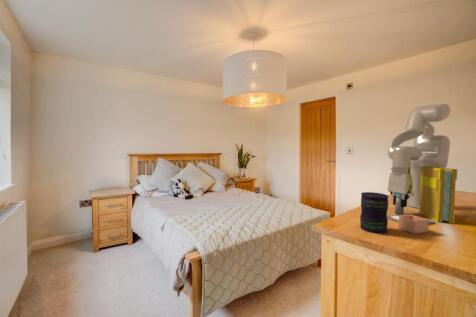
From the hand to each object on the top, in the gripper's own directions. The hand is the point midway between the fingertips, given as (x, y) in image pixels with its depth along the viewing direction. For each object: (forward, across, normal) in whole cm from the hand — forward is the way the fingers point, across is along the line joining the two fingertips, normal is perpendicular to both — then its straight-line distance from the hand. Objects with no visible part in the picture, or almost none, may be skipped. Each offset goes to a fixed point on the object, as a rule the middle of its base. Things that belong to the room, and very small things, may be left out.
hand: (399, 205), depth 114 cm
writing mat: (+5, +9, -5) cm, 11 cm away
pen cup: (+4, +19, -16) cm, 25 cm away
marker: (+4, 0, 0) cm, 4 cm away
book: (+5, +8, +12) cm, 15 cm away
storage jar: (+5, +14, -31) cm, 35 cm away
